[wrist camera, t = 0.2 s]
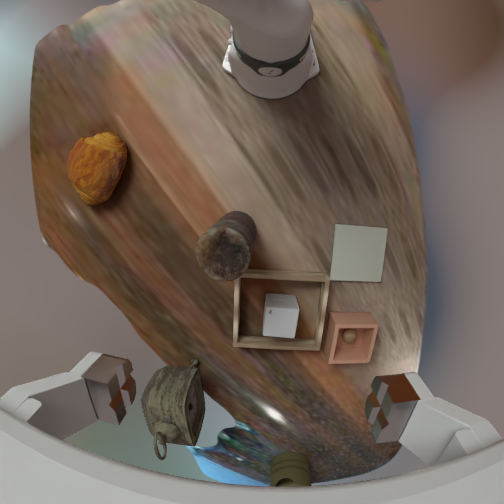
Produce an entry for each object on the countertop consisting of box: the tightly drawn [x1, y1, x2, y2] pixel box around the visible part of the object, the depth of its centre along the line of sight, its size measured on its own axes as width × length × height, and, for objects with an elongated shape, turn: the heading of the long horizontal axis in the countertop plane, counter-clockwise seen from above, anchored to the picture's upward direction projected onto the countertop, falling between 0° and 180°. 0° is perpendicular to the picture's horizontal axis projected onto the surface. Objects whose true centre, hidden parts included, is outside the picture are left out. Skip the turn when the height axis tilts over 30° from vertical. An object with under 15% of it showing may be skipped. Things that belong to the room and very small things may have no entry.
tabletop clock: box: [141, 358, 205, 460], centre depth 52 cm, size 14×9×25 cm, turn 2°
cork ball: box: [342, 328, 357, 343], centre depth 57 cm, size 3×3×3 cm
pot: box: [324, 312, 379, 364], centre depth 56 cm, size 9×9×6 cm
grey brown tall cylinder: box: [196, 211, 256, 281], centre depth 46 cm, size 8×7×20 cm
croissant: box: [67, 132, 127, 205], centre depth 51 cm, size 14×16×8 cm
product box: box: [263, 293, 300, 338], centre depth 55 cm, size 6×6×7 cm
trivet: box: [330, 224, 388, 282], centre depth 55 cm, size 11×11×1 cm
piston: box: [270, 452, 311, 487], centre depth 64 cm, size 11×12×11 cm
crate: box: [233, 269, 330, 350], centre depth 57 cm, size 16×18×4 cm
